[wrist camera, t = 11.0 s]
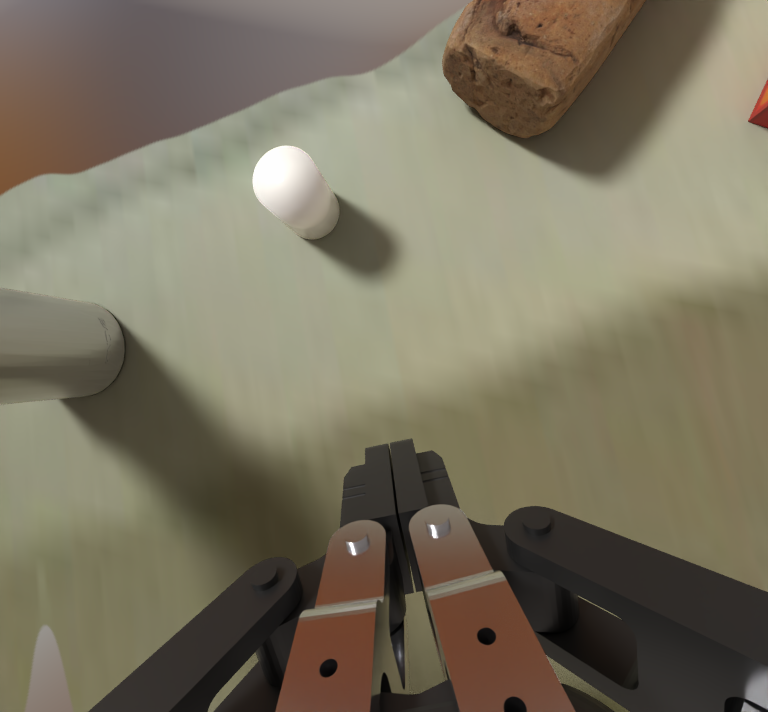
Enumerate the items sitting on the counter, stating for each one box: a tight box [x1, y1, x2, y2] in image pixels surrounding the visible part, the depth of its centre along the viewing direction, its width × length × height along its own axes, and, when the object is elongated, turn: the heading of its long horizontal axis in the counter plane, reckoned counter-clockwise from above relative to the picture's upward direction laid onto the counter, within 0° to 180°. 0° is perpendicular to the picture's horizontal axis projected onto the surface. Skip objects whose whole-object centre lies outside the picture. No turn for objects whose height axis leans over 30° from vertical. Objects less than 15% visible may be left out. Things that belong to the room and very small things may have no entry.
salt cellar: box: [253, 146, 340, 239], centre depth 35 cm, size 5×5×7 cm
